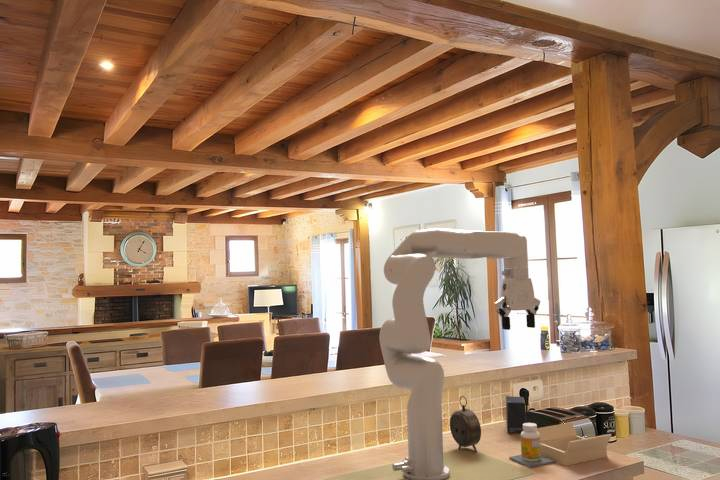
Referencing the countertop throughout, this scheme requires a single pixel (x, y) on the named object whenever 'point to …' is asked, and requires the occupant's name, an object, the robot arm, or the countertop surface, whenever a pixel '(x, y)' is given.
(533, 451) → the supplement bottle
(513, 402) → the small box
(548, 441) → the carton
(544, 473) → the countertop surface
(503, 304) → the robot arm
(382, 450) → the countertop surface
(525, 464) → the plate
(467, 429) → the alarm clock
